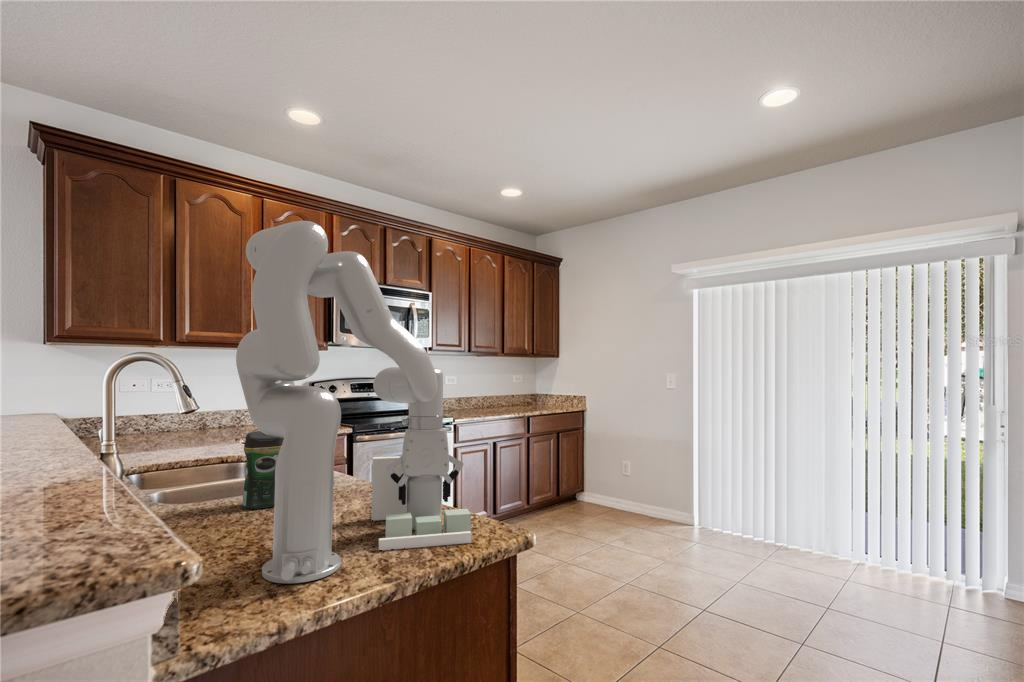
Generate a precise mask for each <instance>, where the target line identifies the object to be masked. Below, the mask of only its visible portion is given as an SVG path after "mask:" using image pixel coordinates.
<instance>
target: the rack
mask: <svg viewBox="0 0 1024 682" xmlns="http://www.w3.org/2000/svg"><path fill="white" fill-rule="evenodd" d="M401 456H402V455H397V456H394V455H393V456H373V457H372V481H371V482H372V484H371V486H372V487H371V521H372V520H373V521H384V520H385V521H386V514H395V513H407V481H406V482H405V486H406V504H405V505H402V502H401V500H399V498H398V496H399V485H398V484H397V483H396V482H395V481H394V480H393V479H392V478H391V477H390V475H389V473H388V472H387V470H386V465H388V464H389V463H391V462H392V461H394V460H396V459H397V458H399V457H401ZM394 472H395V473H396V474H397V475H398V476H399V477H400V476H401V474H402V473H403V471H402V463H401V464H400V465H398V466H397V467H395V468H394ZM440 477H441V517H442V516H443V513H442V512H443V476H440ZM407 480H408V479H407ZM471 543H472V531H466V532H453V533H444V532H443V533H441V534H428V535H416V536H415V535H412V536H404V537H391V538H385V537H381V538H378V551H379V550H382V551H390V550H391V549H394V550H404V548H405V549H414V548H425V547H426V548H427V547H438V546H449V545H451V546H452V545H460V544H471ZM391 551H392V550H391Z"/></svg>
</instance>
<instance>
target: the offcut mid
mask: <svg viewBox="0 0 1024 682" xmlns="http://www.w3.org/2000/svg"><path fill="white" fill-rule="evenodd" d="M442 532H443V521H442V518H440V516H425V517H415V530H414V536H416V535H428V534H441V533H442Z"/></svg>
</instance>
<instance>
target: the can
mask: <svg viewBox="0 0 1024 682" xmlns="http://www.w3.org/2000/svg"><path fill="white" fill-rule="evenodd" d="M409 512H411V516H412V531H413V530H414V531H415V517H425V516H440V518H441V517H442V516H441V477H440V476H434V475H420V476H419V477H409V478H408V480H407V513H409ZM441 519H442V518H441Z"/></svg>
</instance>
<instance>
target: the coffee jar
mask: <svg viewBox="0 0 1024 682" xmlns="http://www.w3.org/2000/svg"><path fill="white" fill-rule="evenodd" d="M283 440H284V438H280V437H274V436H270V435H266V434H264V433H262V432H261V431H260V430H258V431H251V432H250V431H249V432H247V433H246V436H245V441H244V445H243V451H244V455H245V459H246V462H245V464H246V465H245V477H244V485H243V492H242V493H243V494H242V507H244V508H245V509H249V510H251V509H253V510H254V509H256V510H257V509H266V508H274V501H275V468H276V462H277V457H278V454H279V451H280V449H281V446H282V443H283Z"/></svg>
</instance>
